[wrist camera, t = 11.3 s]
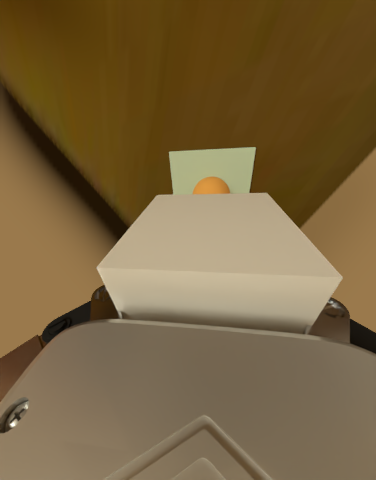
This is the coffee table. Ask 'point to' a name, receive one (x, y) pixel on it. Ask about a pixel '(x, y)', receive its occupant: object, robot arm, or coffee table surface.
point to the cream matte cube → (218, 265)
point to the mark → (212, 168)
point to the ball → (211, 186)
